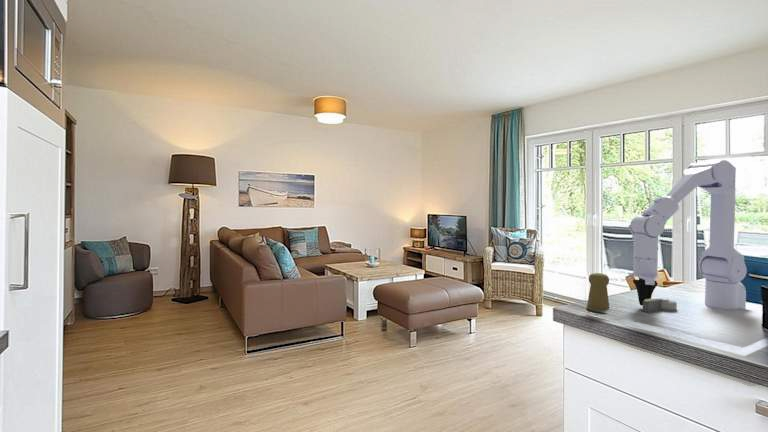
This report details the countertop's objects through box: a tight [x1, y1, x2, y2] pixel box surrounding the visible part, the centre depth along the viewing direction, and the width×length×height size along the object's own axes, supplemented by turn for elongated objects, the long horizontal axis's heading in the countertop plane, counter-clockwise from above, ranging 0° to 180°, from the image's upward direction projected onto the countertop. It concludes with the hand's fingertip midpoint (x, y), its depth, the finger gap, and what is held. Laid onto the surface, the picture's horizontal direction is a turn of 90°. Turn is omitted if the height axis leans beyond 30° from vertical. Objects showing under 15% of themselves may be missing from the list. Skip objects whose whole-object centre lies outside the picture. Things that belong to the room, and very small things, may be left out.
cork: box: [586, 272, 610, 315], centre depth 114 cm, size 6×6×11 cm
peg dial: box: [642, 296, 678, 314], centre depth 111 cm, size 12×6×3 cm, turn 117°
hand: (644, 305), depth 112 cm, fingers closed, pressing on peg dial
